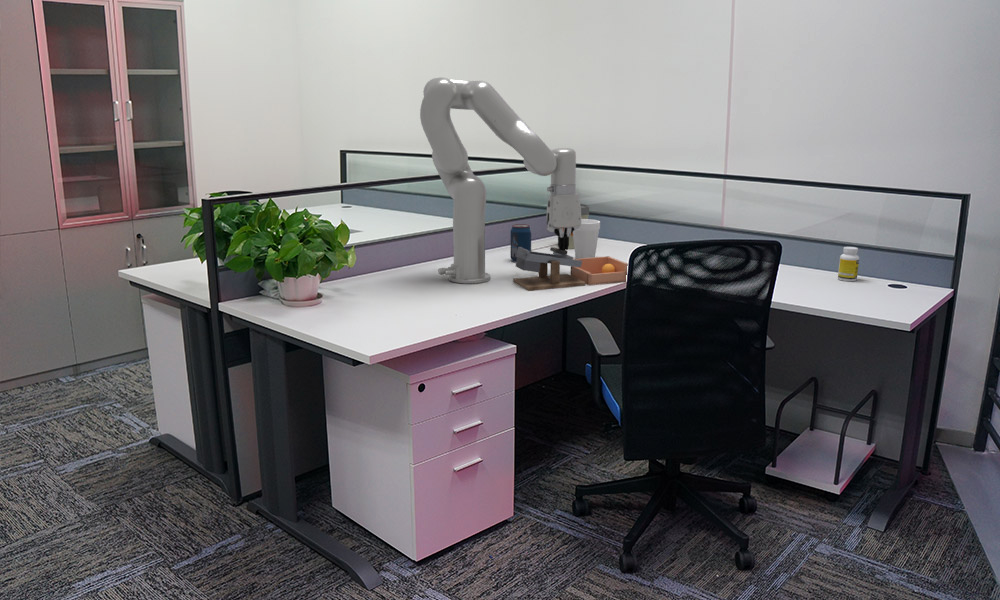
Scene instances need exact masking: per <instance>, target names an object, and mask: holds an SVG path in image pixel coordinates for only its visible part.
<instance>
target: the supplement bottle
mask: <svg viewBox="0 0 1000 600" xmlns="http://www.w3.org/2000/svg"><path fill="white" fill-rule="evenodd" d="M858 252H859V247H856V246H844V247H843V253H842V254H841V255H839V262H838V263H839V265H838V272H837V279H838V280H840V281H842V282H843V281H844V282H856V281H857V280H858V273H859V266H860V264H859V263H860V256H859V255H858Z"/></svg>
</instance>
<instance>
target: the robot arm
mask: <svg viewBox="0 0 1000 600" xmlns="http://www.w3.org/2000/svg"><path fill="white" fill-rule="evenodd" d="M422 93H423V98H422V101H421V105H420V109H419V116H420V117H419V119H420V125H421V126H422V127H421V128H422V129H423V131H424V134H425V136H426V139H427V141H428V143H429V146H430V148H431V150H432V151H431V152H432V153H431V158H432V162H433V165H434V167H435V169H436V171H437V173H438V175H439V177H440V179H441V181H442V183H443V185H444V187H445V190H447V193H448V195H449V196H450V197H451V199H453V206H452V207H453V209H452V210H453V211H452V229H453V230H452V234H453V235H452V237H453V239H452V240H453V242H452V243H453V263H451V264H450V266H448V267H442V268H441V267H439V268H438V269H437V271H438V272H437V273H438V275H441V276H442V275H444V276H448V280H449V281H451V282H453V283H456V284H457V283H458V284H480V283H486V282H488V281H490V280H491V274H489V273H487V272H486V226H485V225H486V217H485V216H486V206H487V205H486V204H487V189H486V186H485V184H484V182H483V180H482V179H481V178H480V177H478V176H477V175H475V174H474V173H473V170H472V168H471V165H470V164H469V155H468V151H467V149H466V147H465V146H464V144H463V143H462V140H461V139H460V136H459V135H458V133H457V130H456V128H455V126H454V123H453V121H452V118H451V109H452V110H464V111H466V110H467V111H469V110H470V111H474V113H476V115H478V117H479V118H480V119H482V121H483V122H484V123H485V124H486V125H487V126H488V128H489V129H490V130H491V131H492V132H493V133H494V134H495V136H496V137H497V138H499V140H501V141H502V142H504V143H505V144H507V145H508V146H510V147H511V148H513V150H515V151H516V152H517V153H518V154H519V155H520V156H521V157H522V159H523V166H524V167H525V168H526V169H527V171H528V172H530V173H532V174H535V175H538V176H540V177H547V176H550V184H549V185H550V186H547V187H546V191H547V192H550V194H549V195H548V199H547V205H546V218H545V219H546V225H547V226H546V227H547V228H546V231H547V232H551V233H554V234H555V235H556V236H557V248H559V249H561V250H566V251H568V250H569V249H568V246H569V237H570V236H571V233H572V232H573V231H574V230H577V229H580V225H581V206H580V204H581V199H580V195H579V193H577V190H576V189H577V188H576V186H577V181H576V180H577V171H576V170H577V168H576V167H577V160H576V159H577V156H576V155H577V154H576V151H575V150H574V149H573V148H570V147H569V148H568V147H563V148H559V147H558V148H554V149H551V148H550V147H548V145H547V144H546V142H544V141H543V140H542V138H541V137H540V136H539V135H538V134H537V133H536V132H535V131H534V130H533V129H532V128H531V127H529V125H528V124H527V123H526V122H525V121H524V120H523V119H522V118H521V117H520V116H519V115H518V114H517V113H516V112H515V110H514V109H512V108H511V106H510V105H509V104H508V103H507V102H506V100H505V99H504V98H503V97H502V96H501V95H500V93H499V92H498V91H497V90H496V89H495V87H493V86H492V85H491V84H490V83H489V82H487V81H484V80H462V79H461V80H459V79H451V78H450V79H449V78H446V77H433V78H432V79H429V81H427V82H426V83H425V85H424V87H423V92H422ZM563 228H564V232H563Z"/></svg>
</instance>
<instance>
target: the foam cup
mask: <svg viewBox="0 0 1000 600" xmlns="http://www.w3.org/2000/svg"><path fill="white" fill-rule="evenodd" d="M600 229H601V221H600V220H597V219H589V218H588V219H581V225H580V229H577V230H574V231H573V239H574V248H575V249H574V255H575V259H580V258H592V257H596V252H597V245H598V240H599V232H600Z"/></svg>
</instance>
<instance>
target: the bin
mask: <svg viewBox="0 0 1000 600" xmlns="http://www.w3.org/2000/svg"><path fill="white" fill-rule="evenodd" d="M573 260H581V261H582V265H581V268H580V267H573V266H570V275H571V276H573V277H575V278H577V279H580V280H582V281H584V282H585V285H587V286H594V285H596V286H597V285H605V284H615V283H626V282H625V281H626V275H627V276H628V274H627V266H628V267H629V263H628V262H624V261H622V260H619V259H618V258H615V257H613V256H610V255H607V256H595V257H592V258H580V259H576V258H573ZM605 264H612V265H613V266H614V267H615V272H610V273H602V268H603V266H604V265H605Z"/></svg>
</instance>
